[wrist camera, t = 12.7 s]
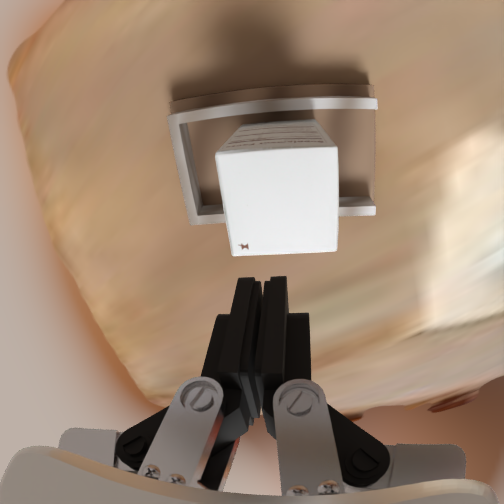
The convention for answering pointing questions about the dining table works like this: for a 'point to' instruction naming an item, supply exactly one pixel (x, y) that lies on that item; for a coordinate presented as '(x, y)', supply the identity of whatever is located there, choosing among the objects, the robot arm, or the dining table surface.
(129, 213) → the dining table surface
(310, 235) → the supplement box
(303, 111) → the board
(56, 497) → the robot arm
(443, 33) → the dining table surface
